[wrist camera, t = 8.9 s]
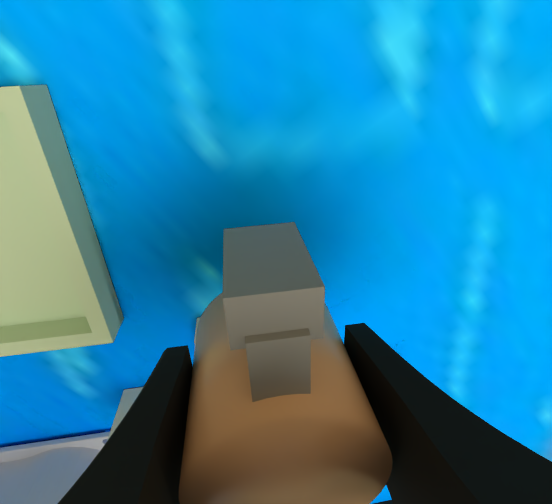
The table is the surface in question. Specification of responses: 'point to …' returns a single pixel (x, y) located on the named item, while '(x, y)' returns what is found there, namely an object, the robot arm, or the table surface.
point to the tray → (47, 237)
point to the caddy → (276, 388)
